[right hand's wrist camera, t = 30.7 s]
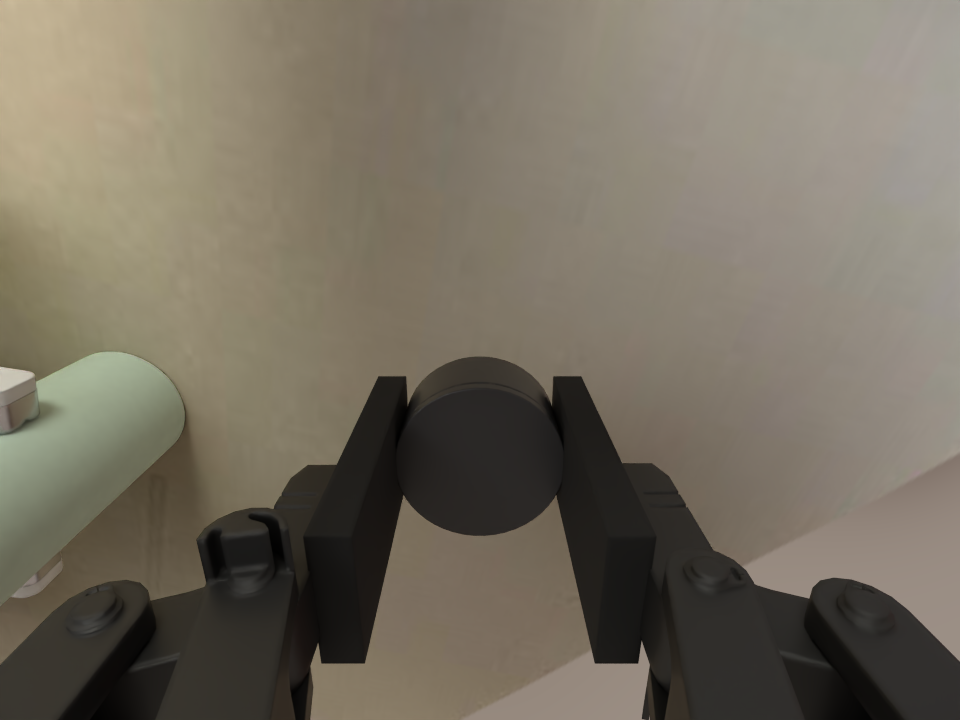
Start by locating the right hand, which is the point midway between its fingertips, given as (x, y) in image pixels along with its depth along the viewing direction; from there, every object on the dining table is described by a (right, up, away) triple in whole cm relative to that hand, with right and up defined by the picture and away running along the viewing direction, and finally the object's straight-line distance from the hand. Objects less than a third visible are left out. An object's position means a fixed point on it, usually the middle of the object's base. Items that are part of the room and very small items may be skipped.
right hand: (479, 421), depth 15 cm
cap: (0, -1, -2) cm, 2 cm away
